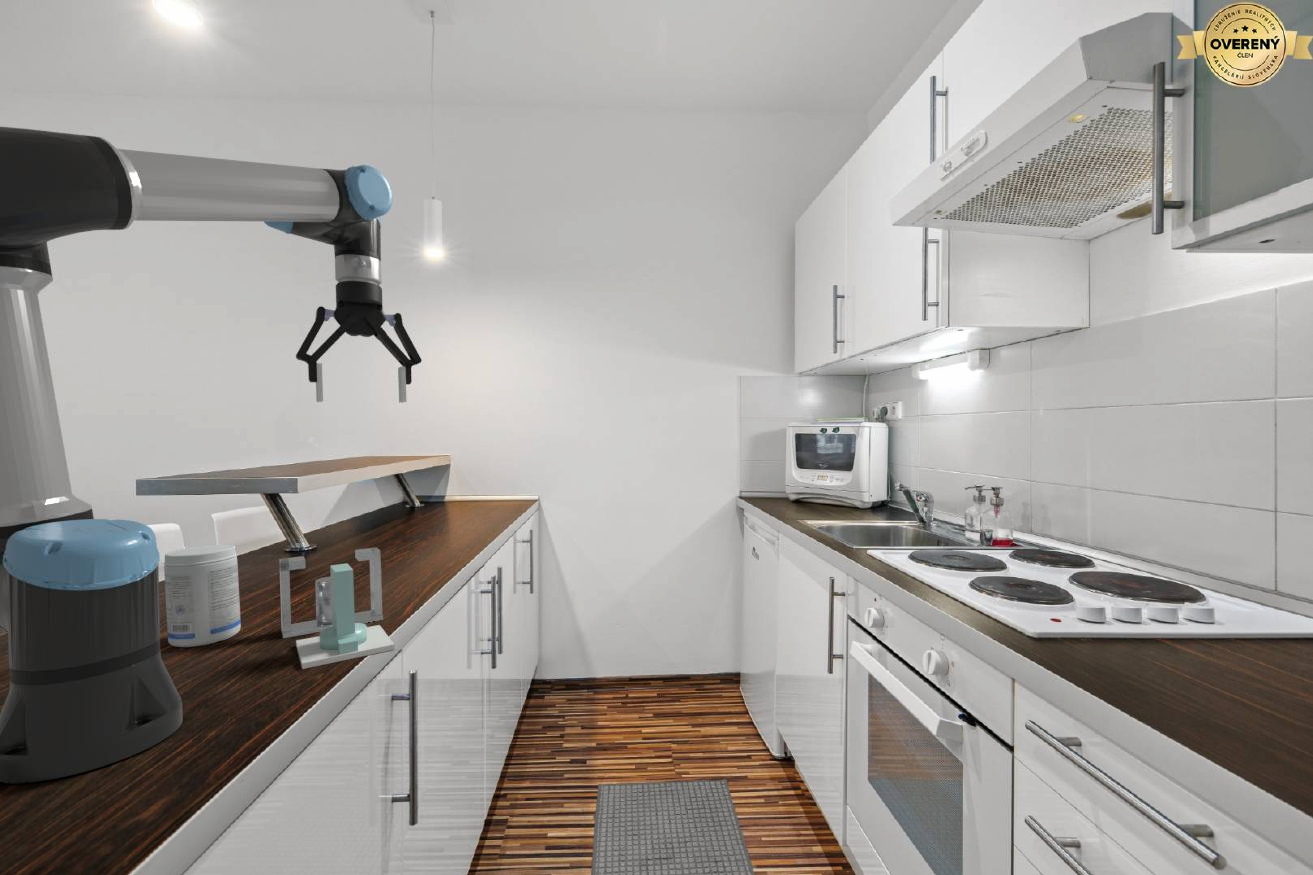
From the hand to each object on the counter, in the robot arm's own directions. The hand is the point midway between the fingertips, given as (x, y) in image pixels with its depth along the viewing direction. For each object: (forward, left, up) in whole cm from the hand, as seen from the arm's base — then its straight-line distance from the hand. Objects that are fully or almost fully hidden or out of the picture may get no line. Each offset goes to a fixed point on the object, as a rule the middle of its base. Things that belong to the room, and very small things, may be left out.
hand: (362, 402), depth 108 cm
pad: (-6, -16, -39) cm, 42 cm away
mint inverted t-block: (-6, -16, -38) cm, 42 cm away
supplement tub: (-24, +4, -39) cm, 46 cm away
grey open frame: (-6, -2, -39) cm, 39 cm away
